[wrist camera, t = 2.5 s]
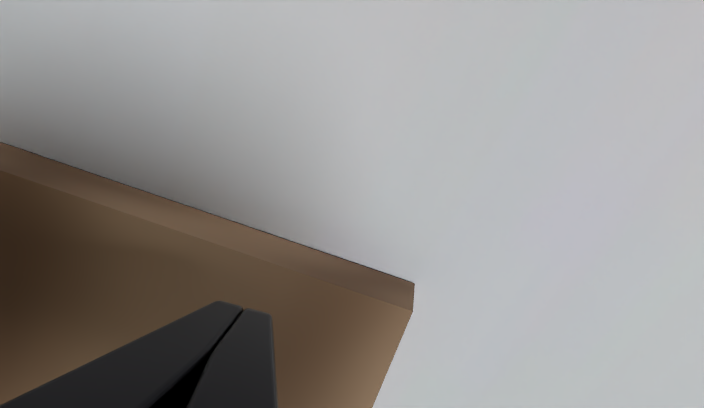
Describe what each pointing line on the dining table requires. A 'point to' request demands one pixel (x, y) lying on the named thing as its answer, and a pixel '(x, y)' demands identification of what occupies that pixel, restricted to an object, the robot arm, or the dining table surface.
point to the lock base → (176, 285)
